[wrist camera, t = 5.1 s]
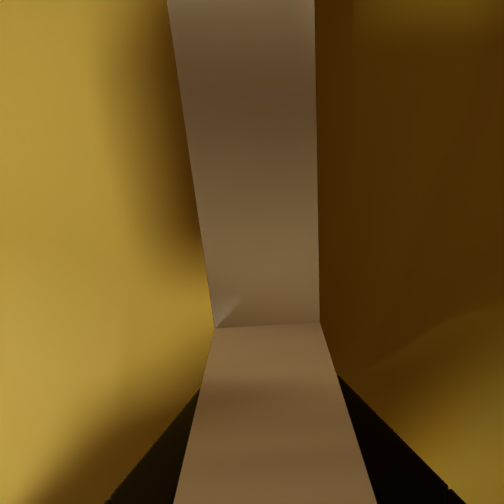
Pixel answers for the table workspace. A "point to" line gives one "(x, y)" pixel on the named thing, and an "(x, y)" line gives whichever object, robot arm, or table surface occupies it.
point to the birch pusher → (260, 262)
